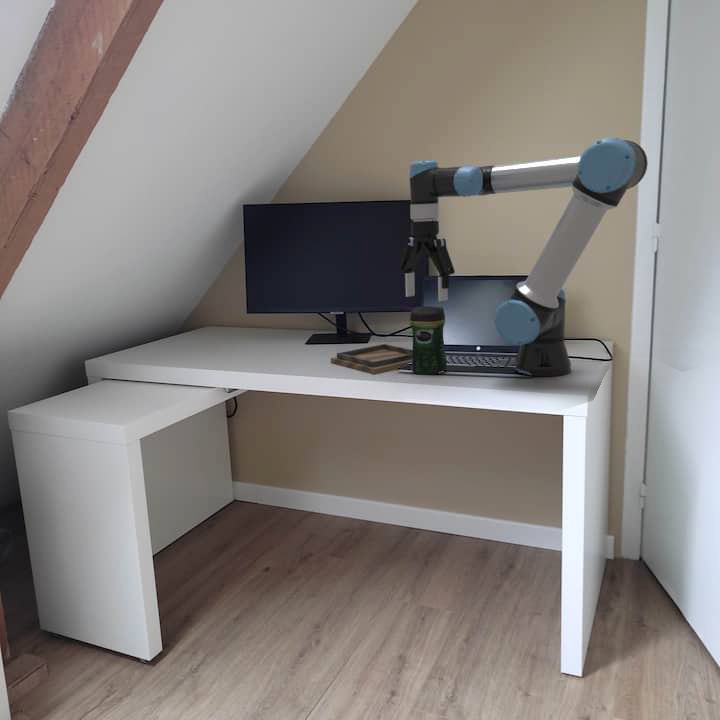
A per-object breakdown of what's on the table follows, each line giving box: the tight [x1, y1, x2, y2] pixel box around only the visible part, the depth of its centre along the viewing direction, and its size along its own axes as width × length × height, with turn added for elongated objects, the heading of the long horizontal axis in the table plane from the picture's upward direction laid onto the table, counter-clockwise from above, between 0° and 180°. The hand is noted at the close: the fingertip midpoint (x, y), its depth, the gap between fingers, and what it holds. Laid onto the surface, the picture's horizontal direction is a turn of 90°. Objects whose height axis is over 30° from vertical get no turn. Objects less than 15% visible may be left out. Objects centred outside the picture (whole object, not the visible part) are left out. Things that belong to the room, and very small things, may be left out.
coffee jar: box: [409, 306, 448, 375], centre depth 204 cm, size 10×8×19 cm
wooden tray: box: [330, 343, 413, 375], centre depth 221 cm, size 22×21×3 cm
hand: (426, 298), depth 202 cm, fingers open, 13 cm apart
